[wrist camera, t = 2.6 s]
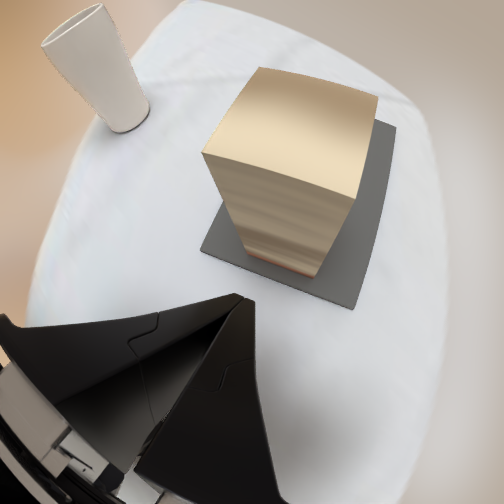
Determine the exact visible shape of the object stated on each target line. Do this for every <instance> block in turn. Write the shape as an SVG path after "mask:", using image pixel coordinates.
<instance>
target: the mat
mask: <svg viewBox="0 0 504 504" xmlns="http://www.w3.org/2000/svg"><path fill="white" fill-rule="evenodd" d="M395 134H396V127H394V126H392V125H389V124H387V123H384V122H382V121H379V120H377V119H374V123H373V128H372V133H371V138H370V142H369V147H368V151H367V156H366V160H365V164H364V168H363V172H362V176H361V180H360V184H359V188H358V191H357V195H356V199H355V201H354V203H353V205H352V207H351V209H350V211H349V213H348V215H347V217H346V219H345V221H344V223H343V225H342V227H341V229H340V231H339V233H338V234H337V236H336V238H335V240H334V242H333V244H332V246H331V248H330V250H329V251H328V253H327V255H326V257H325V259H324V261H323V262H322V264H321V266H320V268H319V270H318V271H317V273H316V275H315V277H314V279H312V278H309V277H307V276H304V275H301V274H299V273H296V272H293V271H291V270H288V269H285V268H283V267H280V266H277V265H275V264H272V263H270V262H267V261H264V260H262V259H259V258H256V257H254V256H251V255H248V254H247V252H246V250H245V248H244V245H243V243H242V241H241V239H240V237H239V234H238V232H237V230H236V228H235V226H234V223H233V221H232V219H231V217H230V215H229V212H228V210H227V208H226V206H225V204H224V201H223V202H222V205H221V207H220V209H219V211H218V213H217V215H216V217H215V219H214V221H213V223H212V225H211V227H210V229H209V231H208V233H207V235H206V237H205V239H204V242H203V244H202V246H201V248H200V251H201V252H204V253H206V254H209V255H211V256H214V257H216V258H219V259H221V260H224V261H226V262H229V263H231V264H234V265H236V266H239V267H241V268H244V269H247V270H249V271H252V272H254V273H257V274H259V275H262V276H264V277H267V278H270V279H272V280H275V281H277V282H280V283H283V284H285V285H288V286H290V287H293V288H296V289H298V290H301V291H303V292H306V293H309V294H311V295H314V296H317V297H319V298H322V299H325V300H327V301H330V302H333V303H335V304H338V305H341V306H343V307H346V308H349V309H352V310H353V309H354V308H355V305H356V302H357V299H358V296H359V293H360V290H361V287H362V284H363V280H364V277H365V274H366V271H367V267H368V264H369V260H370V257H371V253H372V249H373V246H374V242H375V238H376V234H377V230H378V226H379V222H380V218H381V213H382V209H383V204H384V199H385V195H386V190H387V184H388V179H389V174H390V168H391V162H392V155H393V149H394V141H395Z"/></svg>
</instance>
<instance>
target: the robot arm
mask: <svg viewBox="0 0 504 504" xmlns="http://www.w3.org/2000/svg"><path fill="white" fill-rule="evenodd" d="M0 345H1V347H2V348H3V350H4V352H5V353H6V354H7V356H8V358H9V359H10V360H11V362H10V363H9V364H7V366H6V367H4V368H3V366H2V365H1V363H0V504H126V503H125V502H124V501H122V500H120V499H119V498H117V497H116V496H117V494H118V492H119V489H120V487H121V484H122V482H123V480H124V474H126V473H127V472H128V470H129V468H130V467H131V465H132V463H133V461H134V460H135V458H136V456H142V457H141V458H140V460H139V462H138V463H137V465H136V466H135V468H134V472H135V473H136V474H137V475H138V476H139V477H141V478H142V479H143V480H144V481H145V482H146V483H147V484H149V485H150V486H151V487H152V488H153V489H155V490H156V491H157V492H158V493H159V494H161V495H160V497H159V498H158V500H157V501H156V503H155V504H289V503H288V502H286V501H285V500H284V499H283V498H282V497H281V495H280V493H279V489H278V485H277V480H276V476H275V471H274V467H273V462H272V457H271V453H270V448H269V443H268V438H267V434H266V429H265V424H264V419H263V414H262V409H261V404H260V399H259V394H258V388H257V381H256V360H255V301H253V300H250V299H248V298H244V297H243V296H241V295H238V294H236V293H232V294H228V295H225V296H221V297H217V298H213V299H209V300H205V301H201V302H197V303H193V304H189V305H185V306H181V307H177V308H173V309H169V310H165V311H161V312H159V314H158V312H155V313H151V314H146V315H141V316H136V317H130V318H123V319H115V320H107V321H98V322H89V323H79V324H68V325H57V326H44V327H30V328H21V327H17V326H15V325H14V324H13V323H12V322H11V321H10V319H9V318H8V317H7V316H6V315H5V314H0ZM171 408H172V409H171ZM170 409H171V410H170ZM169 410H170V412H169V413H168V415H167V417H166V418H165V420H164V422H163V423H162V421H161V419H162V418H163V417H164V416H165V415H166V414H167V412H168V411H169Z"/></svg>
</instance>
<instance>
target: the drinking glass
mask: <svg viewBox="0 0 504 504" xmlns="http://www.w3.org/2000/svg"><path fill="white" fill-rule="evenodd" d="M41 48H42V49H43V51H44V53H45V54H46V56H47V57H48V59H49V60H50V62H51V63H52V65H53V66H54V67H55V69H56V70H57V71H58V72H59V73H60V75H61V76H62V77H63V78H64V79H65V80H66V81H67V82H68V83H69V84H70V85H71V87H72V88H73V89H74V90H75V91H76V92H77V93H78V94H79V95H80V96H81V97H82V98H83V99H84V100H85V101H86V102H87V103H88V104H89V105H90V106H91V107H92V108H93V109H94V110H95V111H96V113H97V114H98V115H99V116H100V117H101V118H102V119H103V120H104V121H105V123H106V124H107V125H108V126H109V128H110V129H111V130H113V131H115V132H125V131H128V130H131V129H133V128H134V127H136V126H137V125H139V124H140V123H141V122H142V121H143V120H144V119H145V117H146V116H147V114H148V112H149V102H148V100H147V98H146V97H145V95H144V93H143V91H142V89H141V86H140V84H139V82H138V79H137V77H136V74H135V72H134V69H133V67H132V65H131V62H130V60H129V57H128V54H127V52H126V49H125V47H124V44H123V42H122V39H121V37H120V34H119V32H118V30H117V28H116V26H115V24H114V22H113V20H112V18H111V16H110V14H109V13H108V11H107V9H106V8H105V6H104V4H103V3H99V4H95V5H93V6H91V7H89V8H87V9H85V10H83V11H81V12H80V13H78V14H76V15H74V16H73V17H71V18H70V19H68V20H67V21H66V22H64V23H63V24H61V25H60V26H59V27H58V28H56V29H55V30H54V31H53V32H52V33H51V34H50V35H49V36H48V37H47V38H46V39H45V40H44V41H43V42H42V44H41Z"/></svg>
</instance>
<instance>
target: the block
mask: <svg viewBox="0 0 504 504" xmlns="http://www.w3.org/2000/svg"><path fill="white" fill-rule="evenodd" d="M377 102H378V97H377V96H375V95H372V94H369V93H366V92H363V91H360V90H357V89H354V88H351V87H347V86H344V85H341V84H337V83H334V82H330V81H326V80H322V79H318V78H314V77H310V76H306V75H301V74H296V73H291V72H286V71H281V70H275V69H269V68H263V67H259V68H258V69H257V70H256V72H255V73H254V74H253V76H252V77H251V78H250V80H249V81H248V83H247V84H246V85H245V87H244V88H243V89H242V91H241V92H240V94H239V95H238V97H237V98H236V99H235V101H234V102H233V104H232V105H231V107H230V108H229V110H228V111H227V113H226V114H225V116H224V117H223V119H222V120H221V122H220V123H219V125H218V126H217V128H216V129H215V131H214V132H213V134H212V135H211V137H210V139H209V140H208V142H207V143H206V145H205V147H204V148H203V150H202V152H201V153H202V155H203V157H204V159H205V162H206V164H207V166H208V168H209V170H210V173H211V175H212V177H213V179H214V181H215V184H216V186H217V188H218V190H219V193H220V195H221V197H222V199H223V201H224V204H225V206H226V208H227V210H228V212H229V215H230V217H231V219H232V221H233V223H234V226H235V228H236V230H237V232H238V234H239V237H240V239H241V241H242V243H243V245H244V248H245V250H246V252H247V254H248V255H251V256H254V257H256V258H259V259H262V260H264V261H267V262H270V263H272V264H275V265H277V266H280V267H283V268H285V269H288V270H291V271H293V272H296V273H299V274H301V275H304V276H307V277H309V278H312V279H314V277H315V275H316V273H317V271H318V270H319V268H320V266H321V264H322V262H323V261H324V259H325V257H326V255H327V253H328V251H329V250H330V248H331V246H332V244H333V242H334V240H335V238H336V236H337V234H338V233H339V231H340V229H341V227H342V225H343V223H344V221H345V219H346V217H347V215H348V213H349V211H350V209H351V207H352V205H353V203H354V201H355V199H356V195H357V191H358V188H359V184H360V180H361V176H362V172H363V168H364V164H365V160H366V156H367V151H368V147H369V142H370V138H371V133H372V128H373V123H374V118H375V113H376V108H377Z"/></svg>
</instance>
